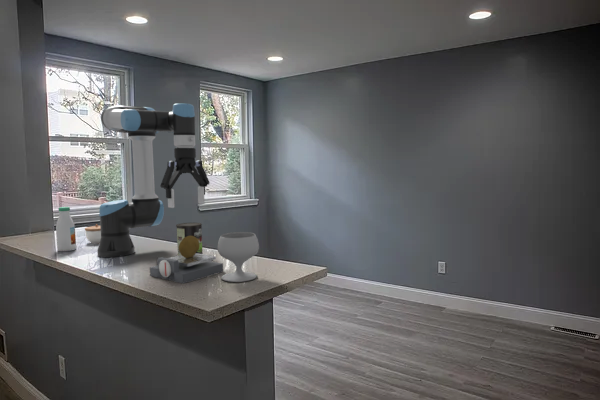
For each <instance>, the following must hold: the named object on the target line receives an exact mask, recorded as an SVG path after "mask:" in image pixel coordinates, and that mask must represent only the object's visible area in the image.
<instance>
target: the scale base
mask: <svg viewBox="0 0 600 400" xmlns="http://www.w3.org/2000/svg"><path fill="white" fill-rule="evenodd" d="M169 258H170V257H163V256H161V257H158V258H156V261H157V265H154V266H150V267H149V276H151V277H155V278H159V279H162V280H163V279H164V280H167V281H172V282H175V283H180V284H186V283H189V282H190V283H191V282H193V281H196V280H199V279H202V278H203V279H204V278H207V277H210V276H213V275H217V274H220V273H222V272H224V263H223V262H216V261H213V260H212V261H207V262H203V263H199V264H195V265H192V266H188V267H187V266H182V265H179V261H178V260H174V259H169Z"/></svg>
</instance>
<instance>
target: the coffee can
mask: <svg viewBox="0 0 600 400" xmlns="http://www.w3.org/2000/svg"><path fill="white" fill-rule="evenodd" d="M202 225H203V224H202V222H201V223H200V222H183V223H178V224H176V226H175V227H176V239H177V240H176V241H177V246H176V247H177V256H179V255H181V253H180V251H179V244H180V242H181V241H182V240H183V238H185V237H187V236H194V237H196V238H197V239H198V241H199V245H200V247H199V250H198V251H197V252H196V253H199V254H204V253H203V232H202V230H203V227H202Z"/></svg>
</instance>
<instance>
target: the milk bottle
mask: <svg viewBox="0 0 600 400" xmlns="http://www.w3.org/2000/svg"><path fill="white" fill-rule="evenodd" d="M70 208H71V207H70V206H63V207H58V213H59V215H58V219H57V220H56V222H55V223H56V224H55V232H56V246H57V251H58V252H69V251H74V250H76V249H77V241H76V239H77V238H76V228H75V227H76V226H75V225H76V224H75V222H74V219H73V218H72V217H71V214H70V213H71V209H70Z"/></svg>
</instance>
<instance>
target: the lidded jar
mask: <svg viewBox="0 0 600 400" xmlns="http://www.w3.org/2000/svg"><path fill="white" fill-rule="evenodd" d="M84 231H85V236H86V239H87V241H88V242H89V243H90V244H99V243H100V240H101V229H100V225H98V223H96V224H95V225H93V226H87V227H85V228H84Z"/></svg>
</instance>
